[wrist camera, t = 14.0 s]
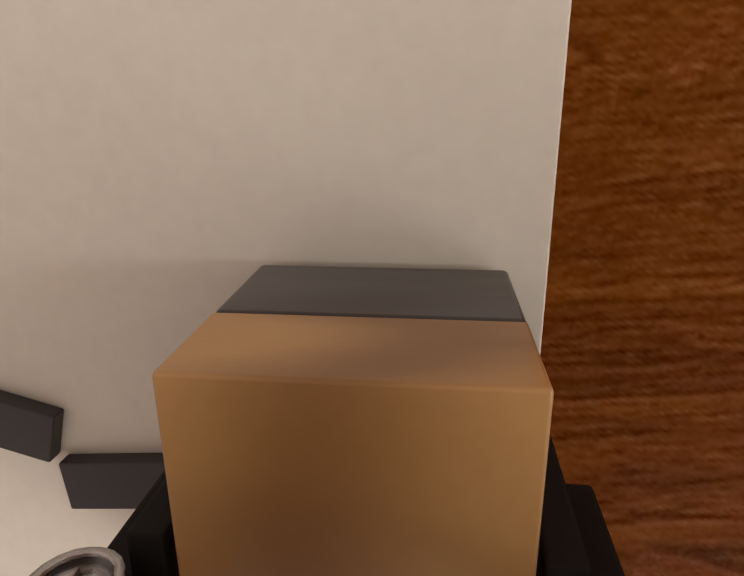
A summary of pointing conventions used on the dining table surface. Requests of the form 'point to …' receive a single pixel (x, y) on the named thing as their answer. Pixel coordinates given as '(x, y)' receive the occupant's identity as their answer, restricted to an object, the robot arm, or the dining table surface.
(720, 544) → the dining table surface
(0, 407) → the marker stroke
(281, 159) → the whiteboard
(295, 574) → the eraser
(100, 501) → the bar
